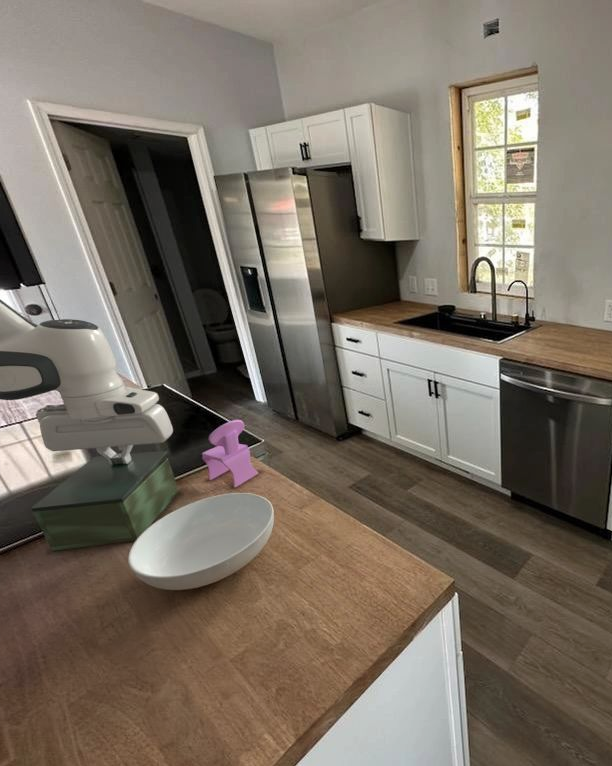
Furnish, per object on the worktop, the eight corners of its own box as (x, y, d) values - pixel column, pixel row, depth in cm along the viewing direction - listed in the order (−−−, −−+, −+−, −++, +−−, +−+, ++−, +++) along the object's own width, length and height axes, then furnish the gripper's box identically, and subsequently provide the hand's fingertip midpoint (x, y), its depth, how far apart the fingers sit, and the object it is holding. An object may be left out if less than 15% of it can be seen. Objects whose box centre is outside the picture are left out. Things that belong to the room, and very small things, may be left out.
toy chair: (235, 464, 104) (222, 410, 98) (262, 471, 101) (249, 416, 96) (203, 482, 96) (186, 425, 91) (230, 490, 94) (215, 432, 88)
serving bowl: (140, 552, 76) (128, 522, 73) (267, 507, 89) (260, 480, 86) (140, 633, 61) (125, 599, 59) (292, 565, 74) (285, 535, 71)
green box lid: (96, 459, 87) (94, 456, 87) (169, 453, 90) (168, 450, 90) (32, 511, 73) (30, 508, 72) (123, 502, 76) (121, 498, 75)
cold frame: (107, 499, 90) (93, 464, 87) (179, 491, 93) (168, 458, 90) (51, 551, 76) (32, 512, 73) (138, 540, 79) (123, 502, 76)
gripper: (18, 413, 75) (48, 477, 80) (149, 405, 79) (169, 466, 84) (46, 399, 81) (71, 460, 86) (166, 392, 85) (184, 450, 90)
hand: (121, 463), depth 85 cm, fingers closed, pressing on green box lid
